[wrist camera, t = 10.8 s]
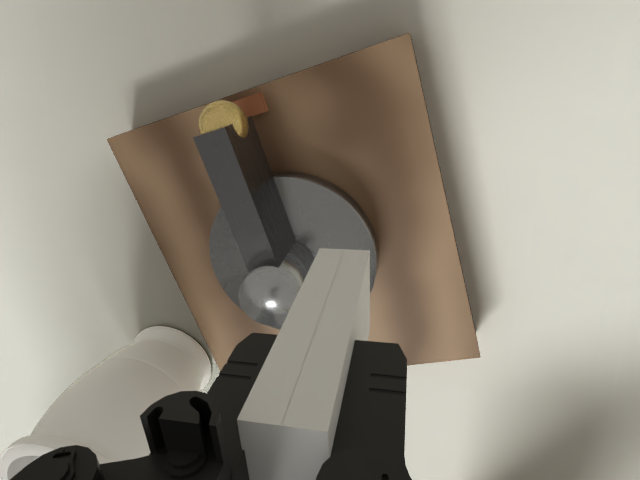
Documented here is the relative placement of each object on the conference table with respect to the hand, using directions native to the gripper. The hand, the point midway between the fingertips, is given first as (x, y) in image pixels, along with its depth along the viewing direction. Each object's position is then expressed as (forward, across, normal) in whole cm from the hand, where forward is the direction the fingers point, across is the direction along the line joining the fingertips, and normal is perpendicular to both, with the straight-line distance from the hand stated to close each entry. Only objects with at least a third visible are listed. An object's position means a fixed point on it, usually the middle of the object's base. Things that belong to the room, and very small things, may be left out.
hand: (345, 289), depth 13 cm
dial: (+16, +7, +4) cm, 18 cm away
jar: (+20, +21, +21) cm, 36 cm away
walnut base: (+19, +6, +6) cm, 21 cm away
